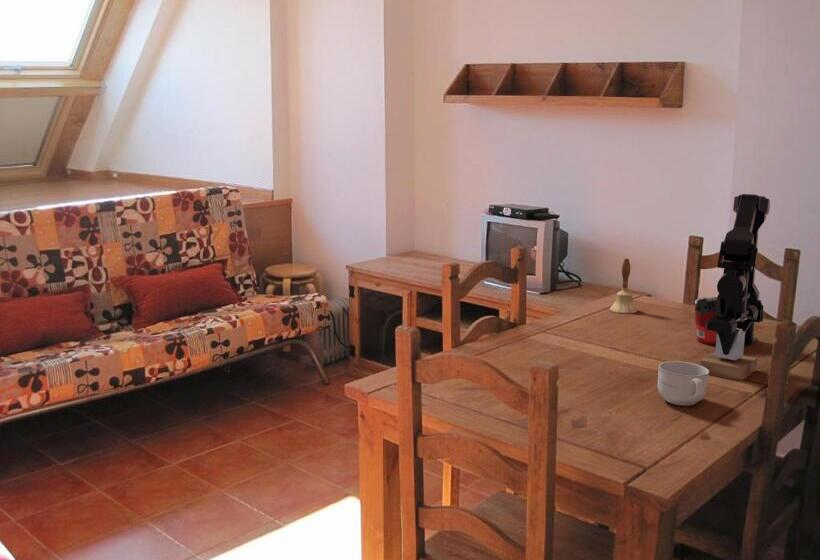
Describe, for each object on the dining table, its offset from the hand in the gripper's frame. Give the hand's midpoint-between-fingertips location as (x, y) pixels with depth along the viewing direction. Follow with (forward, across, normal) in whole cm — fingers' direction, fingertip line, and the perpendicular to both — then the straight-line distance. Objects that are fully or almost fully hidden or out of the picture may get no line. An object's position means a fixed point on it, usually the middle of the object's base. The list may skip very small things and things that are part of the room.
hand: (729, 351), depth 220 cm
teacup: (+5, +27, 0) cm, 28 cm away
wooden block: (+5, 0, 0) cm, 5 cm away
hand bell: (+5, -35, -45) cm, 57 cm away
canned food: (+5, -21, -12) cm, 25 cm away
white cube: (+1, 0, 0) cm, 1 cm away
